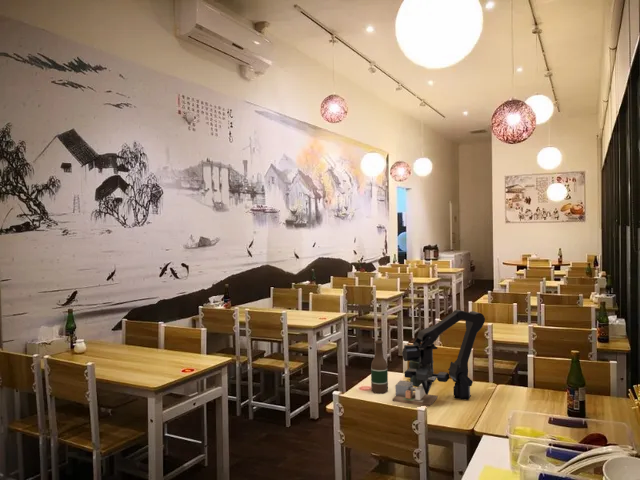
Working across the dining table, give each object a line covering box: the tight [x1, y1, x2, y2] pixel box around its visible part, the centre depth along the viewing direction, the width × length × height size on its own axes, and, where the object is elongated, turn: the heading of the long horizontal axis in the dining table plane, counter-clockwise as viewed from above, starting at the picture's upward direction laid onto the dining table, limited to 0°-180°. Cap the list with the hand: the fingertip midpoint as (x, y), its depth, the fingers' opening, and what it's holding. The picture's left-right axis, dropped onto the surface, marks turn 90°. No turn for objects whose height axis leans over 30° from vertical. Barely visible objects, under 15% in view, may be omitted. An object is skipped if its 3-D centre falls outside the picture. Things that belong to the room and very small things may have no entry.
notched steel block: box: [395, 380, 414, 397], centre depth 228 cm, size 6×7×5 cm
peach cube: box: [406, 390, 411, 399], centre depth 223 cm, size 2×2×3 cm
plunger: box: [410, 384, 426, 400], centre depth 225 cm, size 9×10×4 cm
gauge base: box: [392, 391, 438, 407], centre depth 225 cm, size 17×12×1 cm
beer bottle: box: [370, 339, 389, 395], centre depth 236 cm, size 8×8×24 cm
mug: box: [408, 359, 421, 387], centre depth 248 cm, size 11×15×12 cm
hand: (427, 394), depth 222 cm, fingers closed
